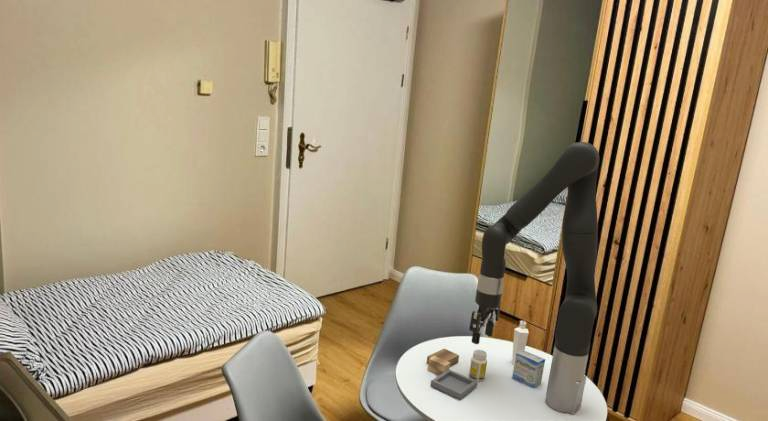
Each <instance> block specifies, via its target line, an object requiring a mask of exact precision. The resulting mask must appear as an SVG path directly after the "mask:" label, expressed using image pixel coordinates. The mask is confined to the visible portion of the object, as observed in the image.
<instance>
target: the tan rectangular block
mask: <svg viewBox="0 0 768 421" xmlns="http://www.w3.org/2000/svg"><path fill="white" fill-rule="evenodd" d="M448 369H450V370H451V367H450V362H448V361H446V360H443V359H441V358H439V357H436V356H433V357H431V358H429V363H428V364H427V371H428V372H430V373H432V374H434V375H436V376H439V375H440V374H442V373H444V372H445V371H447V370H448Z"/></svg>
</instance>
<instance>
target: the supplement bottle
mask: <svg viewBox="0 0 768 421" xmlns="http://www.w3.org/2000/svg"><path fill="white" fill-rule="evenodd" d="M487 363H488V360H487V352H486V351H485V350H484V349H475V350H474V351H473V355H472V357H471V360H470V366H469V367H470V368H469V374H468V375H469V378H470V379H473V380H475V381H477V382H483V381H484V380H485V379H486V372H487Z"/></svg>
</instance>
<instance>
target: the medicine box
mask: <svg viewBox="0 0 768 421" xmlns="http://www.w3.org/2000/svg"><path fill="white" fill-rule="evenodd" d="M545 362H546V359H545V358H543V357H541V356H538V355H536V354H534V353H531V352H529V351H526V350H521V351H519V352H518V353H516V358H515V363H514V365H513V370H512V376H511V378H512V379H513V380H516V381H518V382H520V383H522V384H525V385H526V386H529V387H530V388H533V389H535V388H537V387H538V386H540V385H541V384H542V381H543V380H542V379H543V374H544V369H545Z"/></svg>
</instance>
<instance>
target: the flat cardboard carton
mask: <svg viewBox="0 0 768 421" xmlns="http://www.w3.org/2000/svg"><path fill="white" fill-rule="evenodd" d="M433 356H436V357H439V358H441V359H443V360H446V361H448V362H450V368H451V367H452V366H454V365H457V364H459V359H460V358H459V357H460V355H459V354H457V353H455V352H453V351H451V350H448V349H446V348H442V349H440V350H438V351H436V352H435V351H434V352H433V353H431V354H429V355H427V356H426V357H427V358H426V365H428V363H429V358H431V357H433Z"/></svg>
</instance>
